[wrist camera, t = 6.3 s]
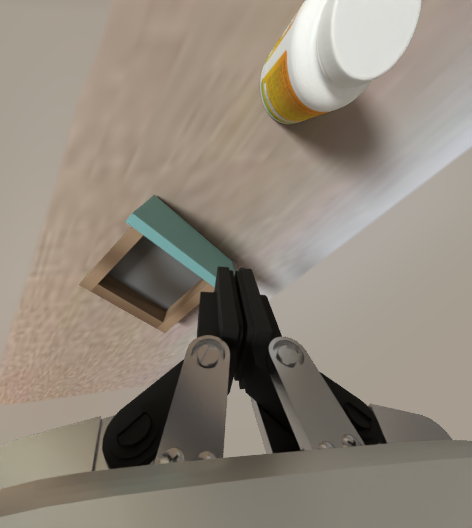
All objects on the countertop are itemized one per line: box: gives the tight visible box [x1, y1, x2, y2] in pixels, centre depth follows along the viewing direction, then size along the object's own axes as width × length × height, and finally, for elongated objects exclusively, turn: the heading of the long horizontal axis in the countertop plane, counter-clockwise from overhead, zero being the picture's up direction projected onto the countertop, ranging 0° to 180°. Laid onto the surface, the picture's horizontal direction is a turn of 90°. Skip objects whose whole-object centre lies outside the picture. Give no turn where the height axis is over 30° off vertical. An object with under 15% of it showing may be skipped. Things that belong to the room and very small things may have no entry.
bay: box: [79, 227, 215, 333], centre depth 22 cm, size 10×10×2 cm
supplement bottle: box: [260, 0, 421, 124], centre depth 13 cm, size 5×5×10 cm
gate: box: [126, 195, 239, 288], centre depth 19 cm, size 1×12×7 cm, turn 43°
